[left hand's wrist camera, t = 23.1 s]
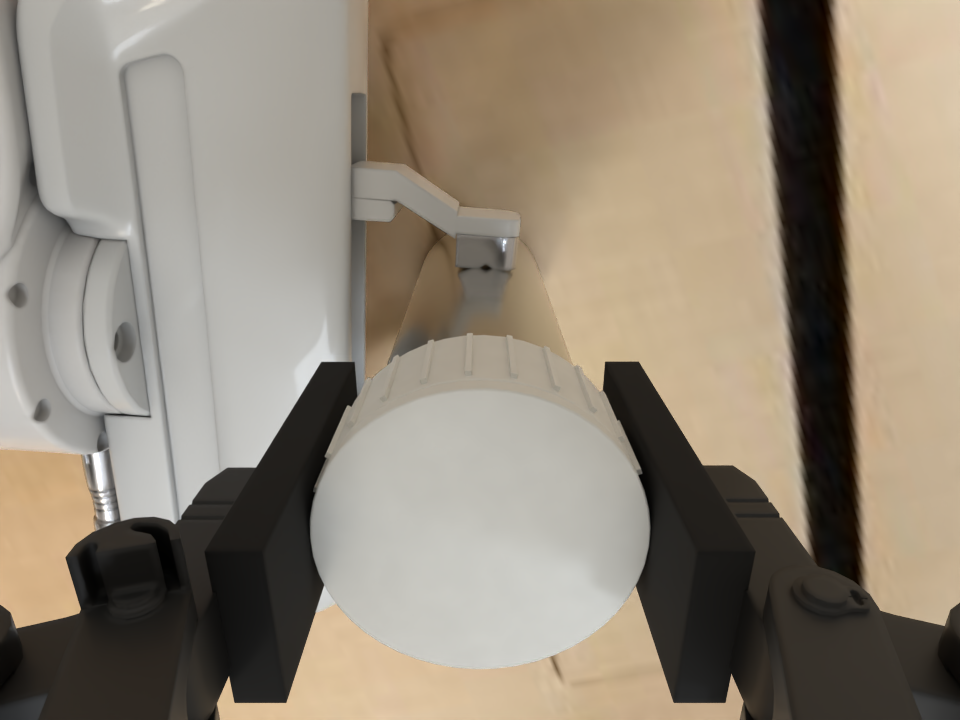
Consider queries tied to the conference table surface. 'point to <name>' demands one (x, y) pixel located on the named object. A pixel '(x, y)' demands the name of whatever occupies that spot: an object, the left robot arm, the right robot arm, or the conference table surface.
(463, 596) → the lid
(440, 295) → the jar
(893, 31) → the conference table surface
